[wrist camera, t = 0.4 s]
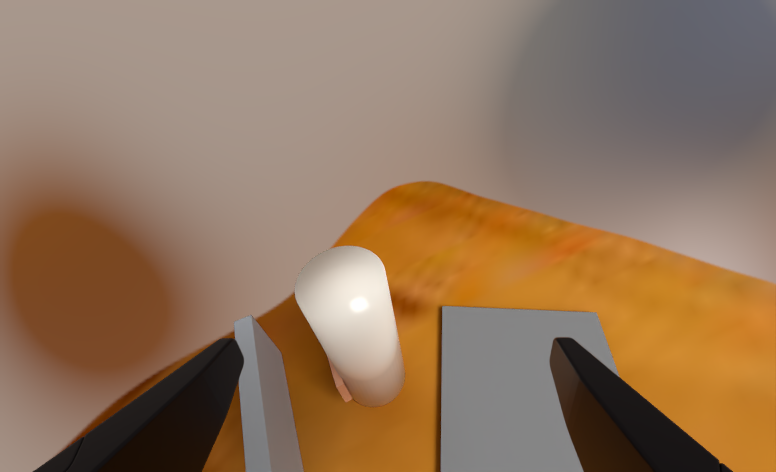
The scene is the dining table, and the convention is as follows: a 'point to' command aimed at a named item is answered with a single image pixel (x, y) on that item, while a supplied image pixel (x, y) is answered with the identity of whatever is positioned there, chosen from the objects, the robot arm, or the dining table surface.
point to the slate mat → (508, 388)
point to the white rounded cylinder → (353, 322)
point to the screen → (265, 403)
